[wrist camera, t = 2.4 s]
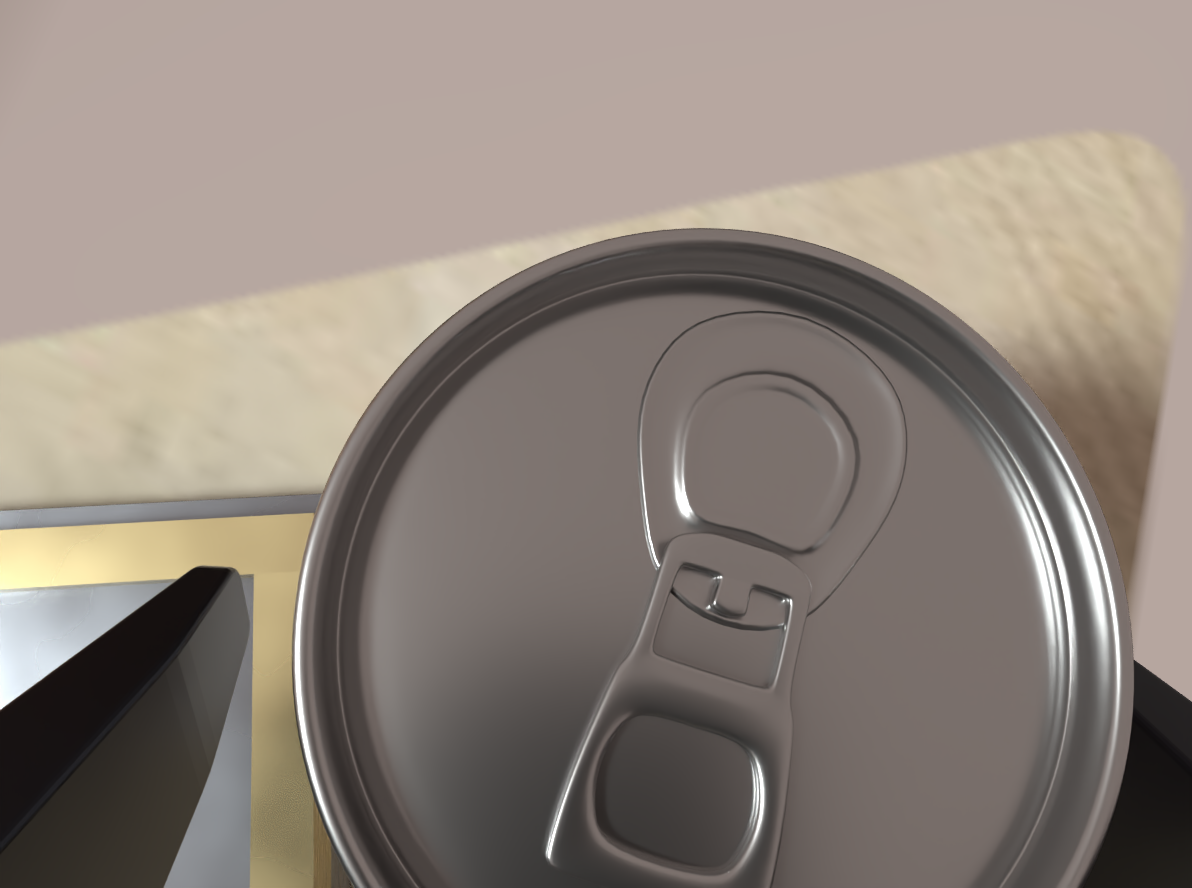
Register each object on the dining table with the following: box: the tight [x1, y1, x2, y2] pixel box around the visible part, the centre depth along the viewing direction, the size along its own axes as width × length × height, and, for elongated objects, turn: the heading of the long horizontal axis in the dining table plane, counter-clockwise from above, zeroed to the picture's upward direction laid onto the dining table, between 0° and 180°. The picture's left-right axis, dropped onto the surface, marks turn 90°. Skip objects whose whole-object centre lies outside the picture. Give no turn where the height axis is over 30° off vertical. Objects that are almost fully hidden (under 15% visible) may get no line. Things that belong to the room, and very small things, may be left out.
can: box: [292, 228, 1134, 888], centre depth 11 cm, size 6×6×12 cm
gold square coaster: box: [0, 494, 350, 888], centre depth 14 cm, size 11×10×3 cm
